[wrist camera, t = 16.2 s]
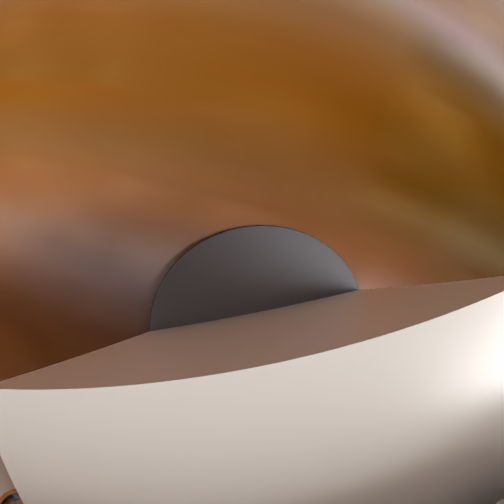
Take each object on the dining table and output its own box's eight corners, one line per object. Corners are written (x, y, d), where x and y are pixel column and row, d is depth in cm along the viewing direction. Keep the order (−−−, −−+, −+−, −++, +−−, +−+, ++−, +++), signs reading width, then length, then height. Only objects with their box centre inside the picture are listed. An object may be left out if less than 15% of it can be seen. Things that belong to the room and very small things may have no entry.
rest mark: (385, 351, 13) (387, 354, 12) (225, 435, 13) (225, 438, 13) (305, 181, 11) (307, 181, 10) (109, 298, 11) (107, 300, 11)
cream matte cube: (379, 462, 11) (493, 586, 2) (199, 500, 10) (163, 664, 2) (356, 289, 12) (547, 270, 3) (152, 330, 11) (-23, 387, 3)
